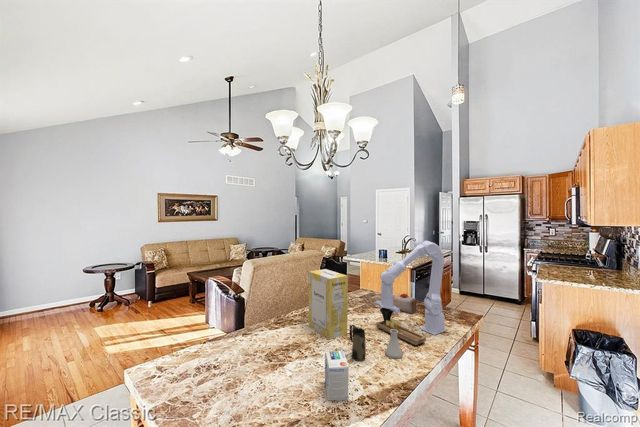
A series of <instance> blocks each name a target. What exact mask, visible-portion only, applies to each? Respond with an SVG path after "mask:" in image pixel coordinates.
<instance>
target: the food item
mask: <svg viewBox="0 0 640 427" xmlns="http://www.w3.org/2000/svg"><path fill="white" fill-rule="evenodd" d="M417 303H418V302H417V298H414V297H411V296H409V295H408V293H402V294H393V305H394V306H396V307H397V308H399V309H400V312H404V313H407V314H410V315H414V314H415V313H417V312H418V310H417V309H418V308H417V305H418V304H417Z"/></svg>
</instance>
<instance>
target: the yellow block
mask: <svg viewBox="0 0 640 427" xmlns="http://www.w3.org/2000/svg"><path fill="white" fill-rule="evenodd" d="M399 326H400V321H399V320H396V319H394V318H392V317H391V318H390V319H388V320H386V327H389V328H391V329H395V330H397V329H399Z"/></svg>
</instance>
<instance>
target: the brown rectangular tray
mask: <svg viewBox="0 0 640 427" xmlns="http://www.w3.org/2000/svg"><path fill="white" fill-rule="evenodd" d="M375 324H376V327H377V328H378V329H381V330H383V331H385V332H387V333H390V334H391V332H390V330H391V328H389V327H386V323H384V320H381V321H379V322H376V323H375ZM397 331H398V333H397V337H398V339H402V340H404V341H406V342H408V343H410V344H412V345H415V346H417V345H420V344H422V343H425V342H427V341H426V340H427V338H426V336H423V335H421V334H419V333H417V332H414V331H412V330H410V329H408V328H406V327H404V326H401V325H399V329H397Z"/></svg>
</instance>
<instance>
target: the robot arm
mask: <svg viewBox="0 0 640 427" xmlns="http://www.w3.org/2000/svg"><path fill="white" fill-rule="evenodd" d="M426 256H428V257H429V259H431V261H432V263H431V264H432V265H431V271H430V279H429V284H428V285H429V287H428V292H427V293H426V297H425V298H424V300H423V306H424V308H425V310H424V326H423V327H421V328H420V330H421V331H424V332H426V333H429V334H431V335H434V336H436V335H438V334H442V333H443V332H446V331H447V329H446V328H445V326H446V325H445V320H446V317H445V314H444V312H443V304H442V298H441V290H442V289H441V288H442V280H443V271H444V266H445V265H444V264H445V258H444V255H443V253H442V251H441V247H440V246H439V245H438V243H437V244H436V243H435V242H432V241H430V240H423V241H422V242H421V243H420V244H417V246H415V248H414V249H412V250H411V251H410V252H409V253H408V254H406V256H405V257H404V258H403V259H401V260H397V261H393V263H392V265H391V266H390V267H388V268H386V270H384V271H382V273H381V275H379V276H380V280H381V283H380V284H381V287H380V288H381V291H380V292H381V294H380V295H381V296H380V300H375V302H374V303H375V304H374V305H375V306H379V307H380V309H379V311H380V313H381V315H382V319H383V321H384V323H386V320H388V319H391V318H392V315H393V313H395V314H400V313H401V311H400V309H399V308H397V307H396V306H394V305H393V296H394V287H393V286H394V283H395V279H397V278H398V277H399V276H401V274H403V273H404V272H405V271H406V268H407V266H408V265H410V264H411V263H412V262H413V261H415V260H416V259H417V258H419V257H426Z"/></svg>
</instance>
